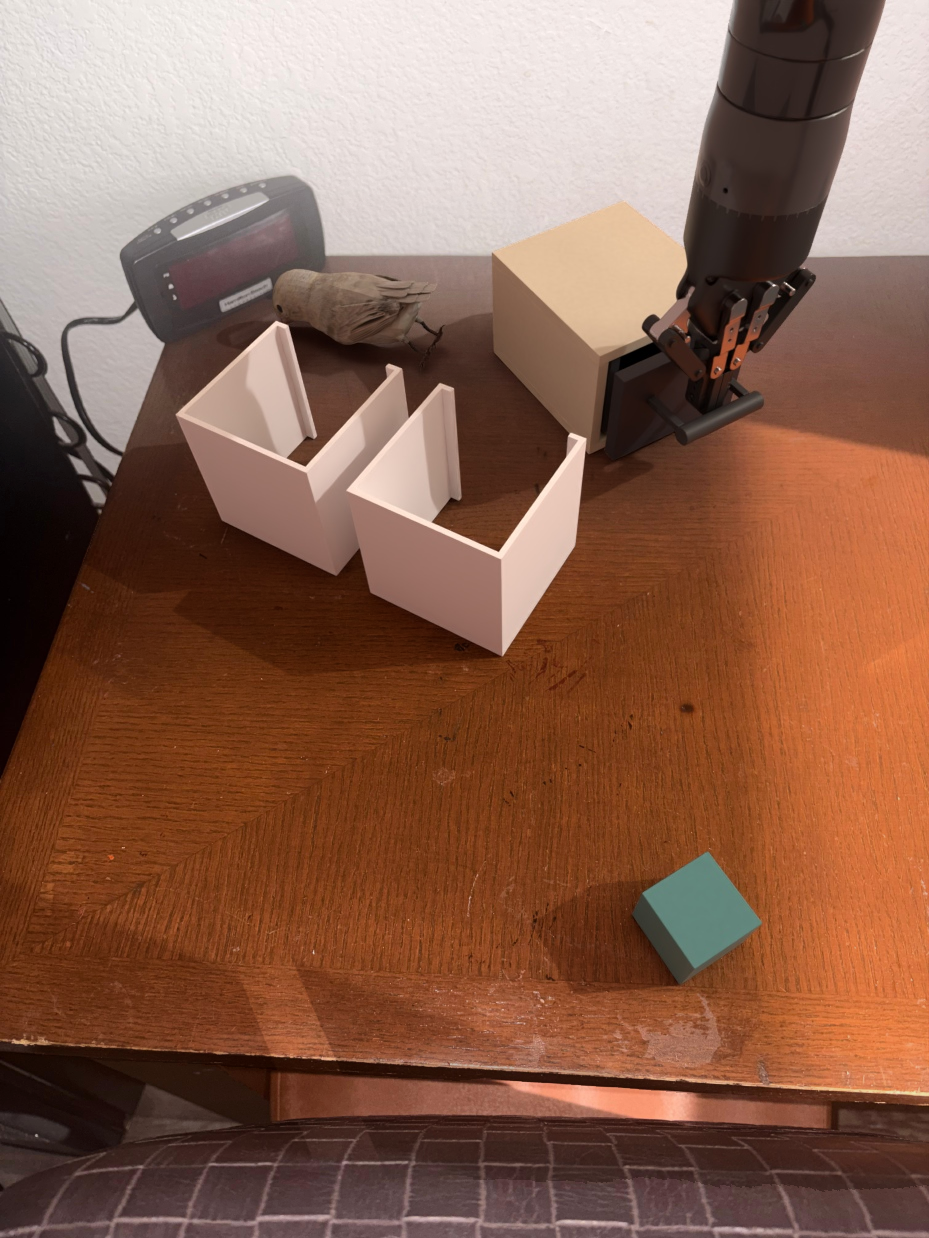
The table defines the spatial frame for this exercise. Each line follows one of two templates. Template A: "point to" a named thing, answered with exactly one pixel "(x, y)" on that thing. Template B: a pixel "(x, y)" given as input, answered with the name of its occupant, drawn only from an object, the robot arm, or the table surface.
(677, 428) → the drawer
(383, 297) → the decorative bird
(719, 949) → the block
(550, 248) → the beige hollow box
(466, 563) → the white desk organizer
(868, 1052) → the table surface
